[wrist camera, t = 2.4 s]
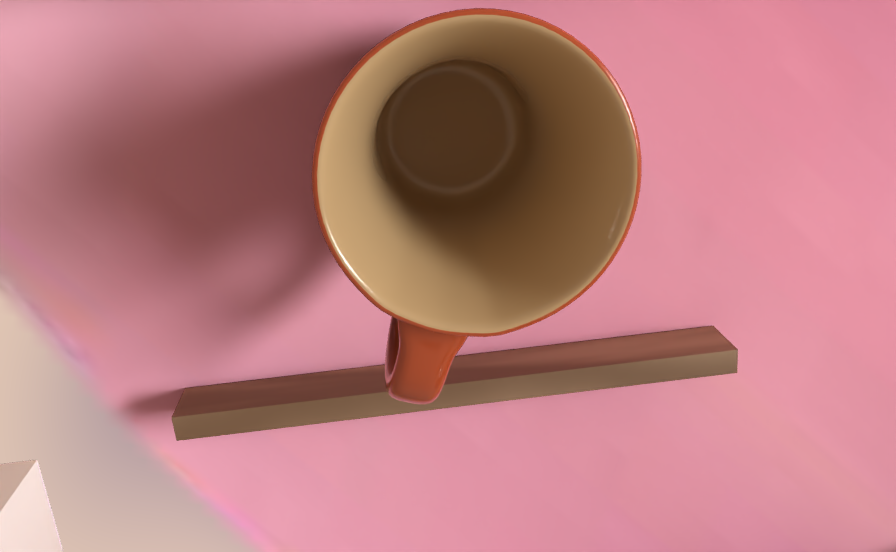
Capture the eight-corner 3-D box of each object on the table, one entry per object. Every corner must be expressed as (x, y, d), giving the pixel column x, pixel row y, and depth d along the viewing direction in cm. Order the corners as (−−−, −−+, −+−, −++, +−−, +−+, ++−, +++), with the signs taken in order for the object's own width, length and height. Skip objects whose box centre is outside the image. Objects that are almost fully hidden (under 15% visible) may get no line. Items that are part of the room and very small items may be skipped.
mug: (359, -27, 30) (354, -35, 20) (590, 39, 31) (689, 60, 22) (289, 285, 33) (257, 405, 24) (500, 331, 35) (550, 462, 25)
